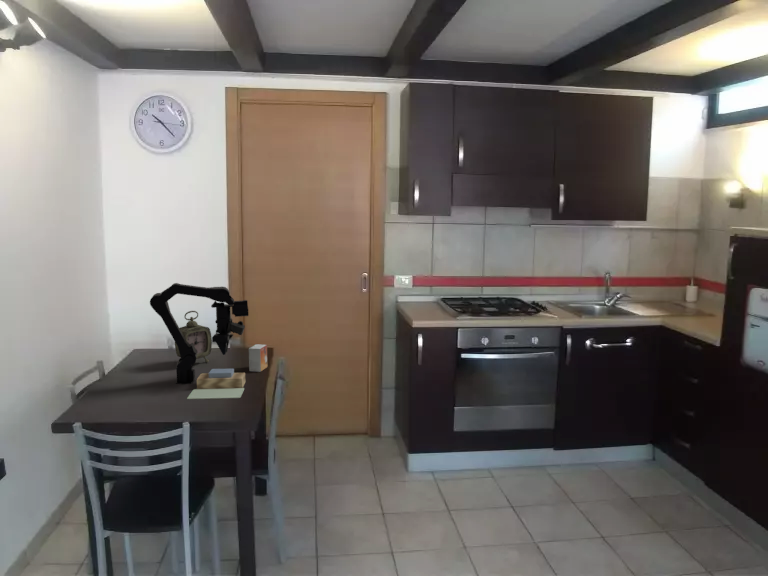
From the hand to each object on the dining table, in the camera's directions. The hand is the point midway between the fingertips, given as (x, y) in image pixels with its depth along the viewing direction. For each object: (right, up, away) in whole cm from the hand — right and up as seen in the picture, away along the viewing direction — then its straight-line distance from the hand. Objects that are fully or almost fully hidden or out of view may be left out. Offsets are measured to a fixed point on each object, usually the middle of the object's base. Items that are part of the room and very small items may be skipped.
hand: (224, 353), depth 248 cm
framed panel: (+1, -12, -7) cm, 14 cm away
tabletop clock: (-21, -8, +23) cm, 32 cm away
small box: (+11, -9, +15) cm, 21 cm away
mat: (+1, -14, -17) cm, 22 cm away
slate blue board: (+1, -8, -7) cm, 11 cm away
